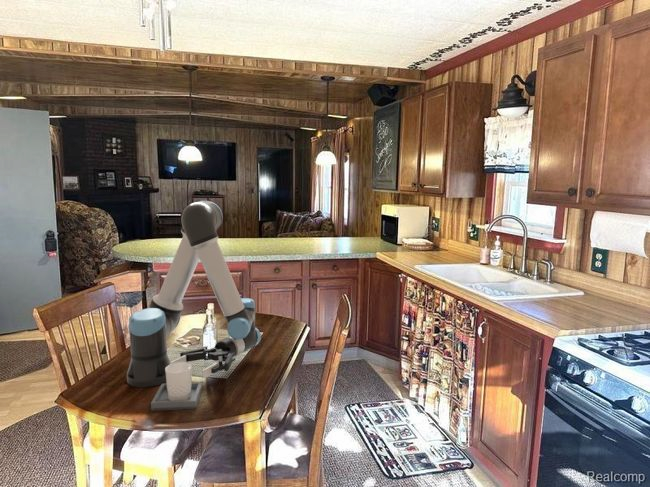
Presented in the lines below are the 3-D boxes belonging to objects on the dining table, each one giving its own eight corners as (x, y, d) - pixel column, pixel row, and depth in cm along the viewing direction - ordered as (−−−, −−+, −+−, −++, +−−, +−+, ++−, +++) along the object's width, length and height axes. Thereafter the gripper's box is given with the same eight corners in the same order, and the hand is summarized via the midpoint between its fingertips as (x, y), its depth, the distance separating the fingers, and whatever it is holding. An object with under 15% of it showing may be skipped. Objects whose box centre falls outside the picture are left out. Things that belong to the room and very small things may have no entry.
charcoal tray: (162, 390, 148) (161, 383, 148) (202, 389, 150) (202, 381, 149) (151, 410, 135) (150, 403, 135) (195, 408, 137) (195, 401, 136)
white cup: (183, 389, 148) (182, 360, 146) (197, 396, 143) (196, 366, 141) (161, 398, 142) (160, 367, 140) (175, 406, 137) (174, 374, 135)
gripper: (258, 364, 158) (217, 389, 139) (202, 352, 169) (158, 373, 150) (257, 344, 157) (217, 366, 138) (202, 332, 168) (157, 352, 149)
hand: (186, 370), depth 144 cm, fingers open, 13 cm apart
